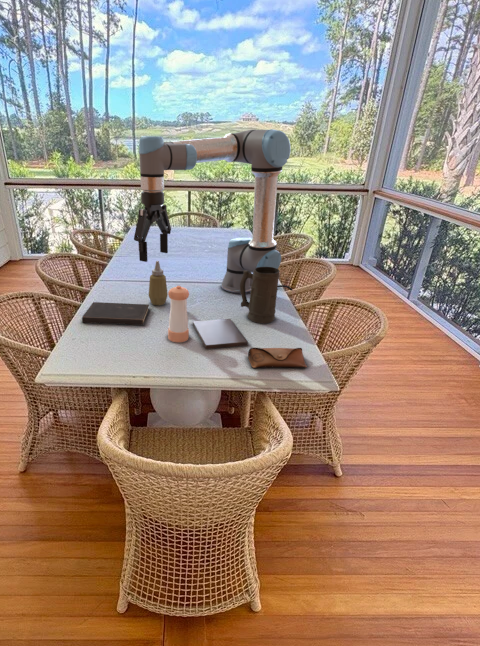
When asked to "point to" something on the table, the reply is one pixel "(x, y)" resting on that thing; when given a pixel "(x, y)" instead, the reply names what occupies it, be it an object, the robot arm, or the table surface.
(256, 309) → the beer stein
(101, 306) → the hardcover book
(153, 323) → the table surface
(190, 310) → the table surface
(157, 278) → the squeeze bottle
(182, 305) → the pepper shaker
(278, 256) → the robot arm
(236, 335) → the serving board
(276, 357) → the sunglasses case
